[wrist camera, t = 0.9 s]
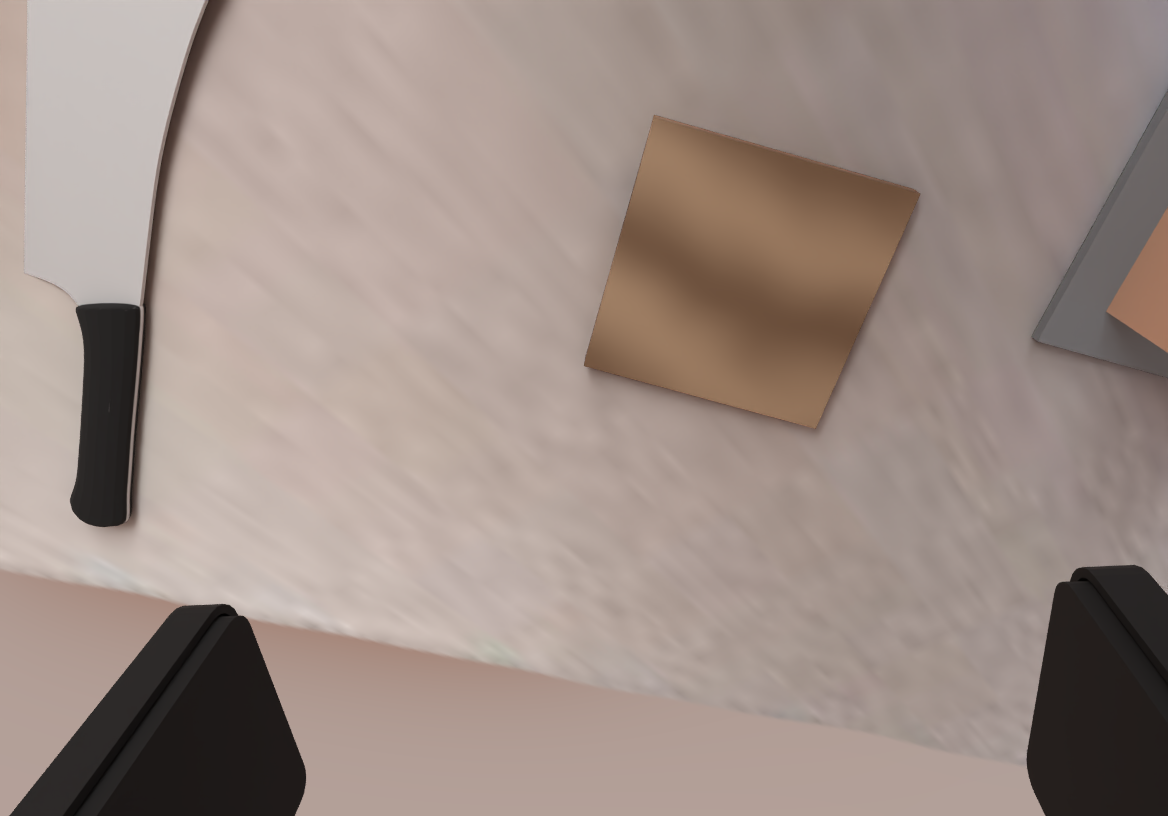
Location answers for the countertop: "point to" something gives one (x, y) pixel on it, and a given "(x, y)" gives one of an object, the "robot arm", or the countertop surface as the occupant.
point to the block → (1147, 290)
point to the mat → (1114, 262)
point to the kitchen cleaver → (101, 201)
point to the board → (744, 272)
